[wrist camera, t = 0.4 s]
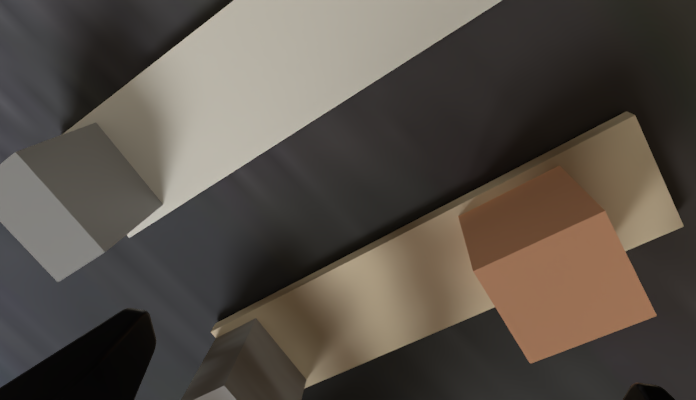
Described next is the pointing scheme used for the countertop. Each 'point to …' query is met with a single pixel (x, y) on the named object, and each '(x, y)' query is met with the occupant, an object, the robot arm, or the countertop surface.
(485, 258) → the terracotta block
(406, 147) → the countertop surface
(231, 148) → the white long bar
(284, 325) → the beige rectangular bar
